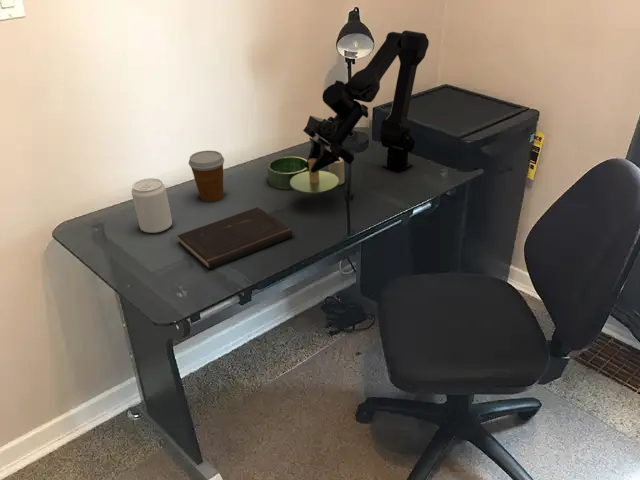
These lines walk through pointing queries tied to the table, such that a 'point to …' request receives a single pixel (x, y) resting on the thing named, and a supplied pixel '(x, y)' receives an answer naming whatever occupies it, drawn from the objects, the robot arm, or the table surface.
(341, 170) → the candle
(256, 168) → the table surface
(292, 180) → the lid
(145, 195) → the beverage can
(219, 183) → the disposable coffee cup
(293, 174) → the tin
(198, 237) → the hardcover book
